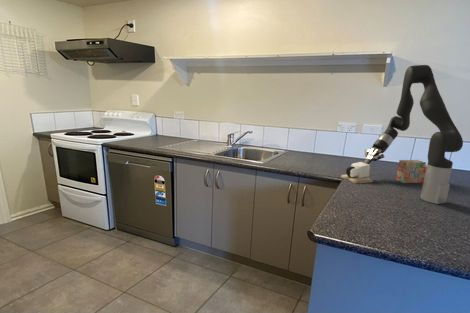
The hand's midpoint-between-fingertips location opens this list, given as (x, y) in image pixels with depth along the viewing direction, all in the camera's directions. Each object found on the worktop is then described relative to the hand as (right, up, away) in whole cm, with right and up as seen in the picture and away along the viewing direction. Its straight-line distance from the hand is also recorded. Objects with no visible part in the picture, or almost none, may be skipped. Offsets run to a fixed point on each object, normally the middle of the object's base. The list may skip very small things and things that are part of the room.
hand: (365, 164), depth 160 cm
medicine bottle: (0, -3, 0) cm, 3 cm away
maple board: (-6, -9, -2) cm, 11 cm away
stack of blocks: (+30, -10, 0) cm, 32 cm away
